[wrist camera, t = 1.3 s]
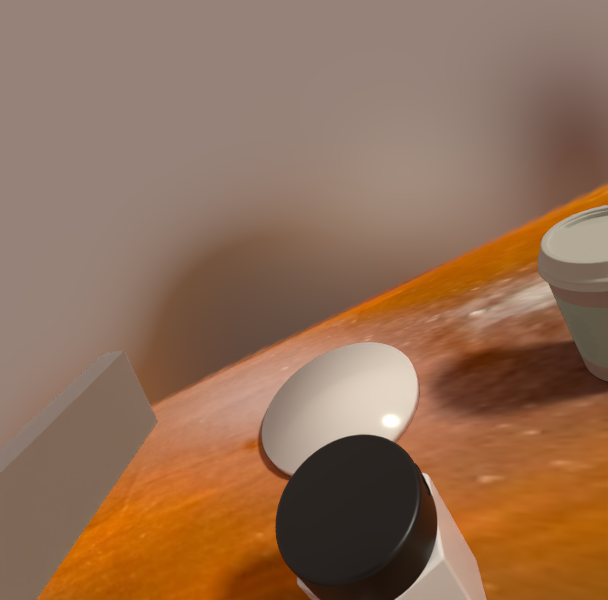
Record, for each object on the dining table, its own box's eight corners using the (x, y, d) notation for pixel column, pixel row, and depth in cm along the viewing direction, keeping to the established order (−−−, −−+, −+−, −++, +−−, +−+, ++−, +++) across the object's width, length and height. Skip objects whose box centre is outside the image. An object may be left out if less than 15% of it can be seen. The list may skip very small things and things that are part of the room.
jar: (514, 571, 26) (452, 446, 21) (478, 734, 21) (386, 624, 16) (388, 525, 32) (317, 421, 27) (338, 644, 27) (240, 544, 22)
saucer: (390, 328, 53) (387, 322, 52) (449, 428, 37) (445, 421, 36) (265, 390, 55) (261, 385, 54) (267, 511, 39) (262, 505, 38)
